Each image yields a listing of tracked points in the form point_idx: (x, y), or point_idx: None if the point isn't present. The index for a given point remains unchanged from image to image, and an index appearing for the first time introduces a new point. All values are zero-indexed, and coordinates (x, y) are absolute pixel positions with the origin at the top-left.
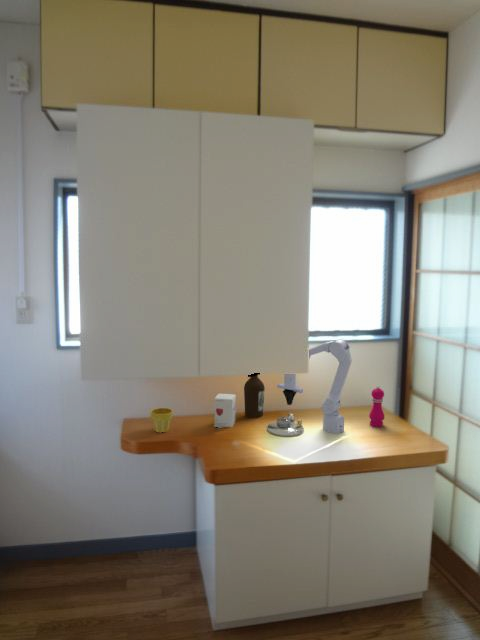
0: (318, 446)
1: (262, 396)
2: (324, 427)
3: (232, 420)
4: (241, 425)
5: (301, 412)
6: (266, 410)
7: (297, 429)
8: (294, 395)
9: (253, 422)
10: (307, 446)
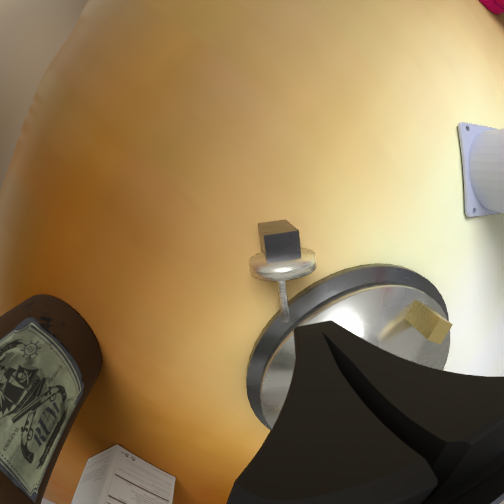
0: (500, 334)
1: (27, 437)
2: (500, 211)
3: (166, 499)
4: (150, 446)
5: (148, 23)
6: (3, 206)
7: (427, 348)
8: (441, 382)
9: (134, 400)
10: (477, 366)
